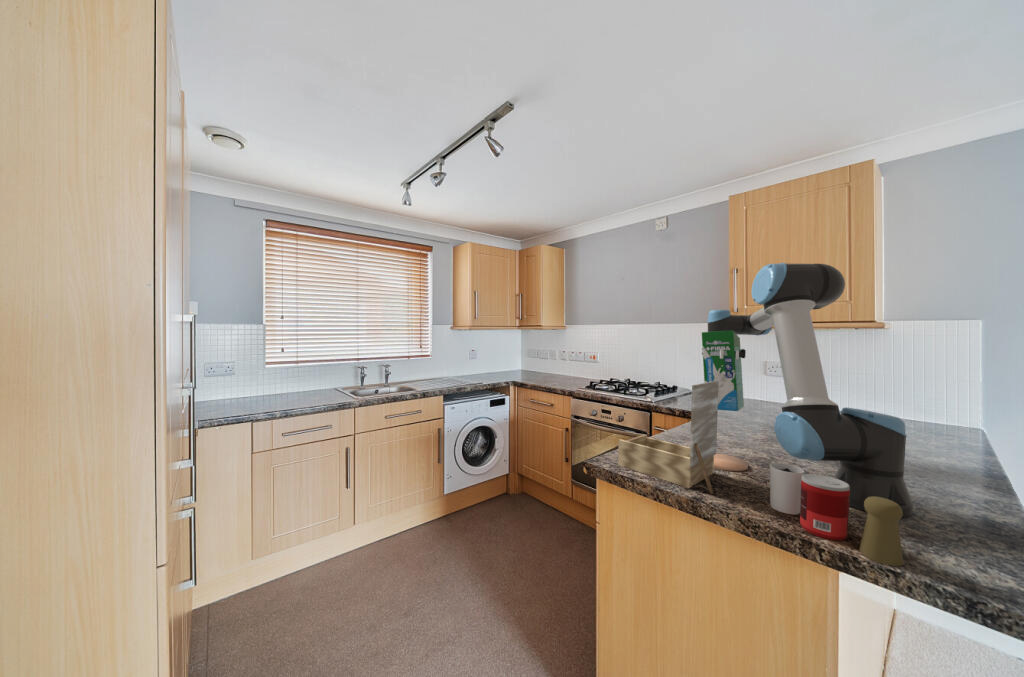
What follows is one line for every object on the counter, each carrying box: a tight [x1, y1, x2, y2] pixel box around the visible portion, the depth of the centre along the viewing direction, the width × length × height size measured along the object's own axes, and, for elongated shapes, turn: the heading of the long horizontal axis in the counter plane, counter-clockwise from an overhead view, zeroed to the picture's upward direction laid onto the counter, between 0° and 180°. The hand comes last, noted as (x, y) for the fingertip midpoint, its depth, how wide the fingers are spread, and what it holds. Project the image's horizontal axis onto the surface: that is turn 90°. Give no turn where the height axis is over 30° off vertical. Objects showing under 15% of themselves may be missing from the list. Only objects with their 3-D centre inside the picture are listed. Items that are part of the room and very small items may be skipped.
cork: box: [858, 496, 905, 567], centre depth 70 cm, size 6×6×11 cm
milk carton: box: [701, 330, 745, 412], centre depth 120 cm, size 9×9×25 cm
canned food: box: [799, 473, 850, 541], centre depth 79 cm, size 8×8×11 cm
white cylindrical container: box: [769, 462, 805, 515], centre depth 89 cm, size 7×7×10 cm
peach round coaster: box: [714, 452, 749, 472], centre depth 120 cm, size 13×13×1 cm
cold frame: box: [617, 381, 719, 495], centre depth 111 cm, size 28×17×28 cm, turn 41°
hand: (729, 354), depth 114 cm, fingers open, 3 cm apart
